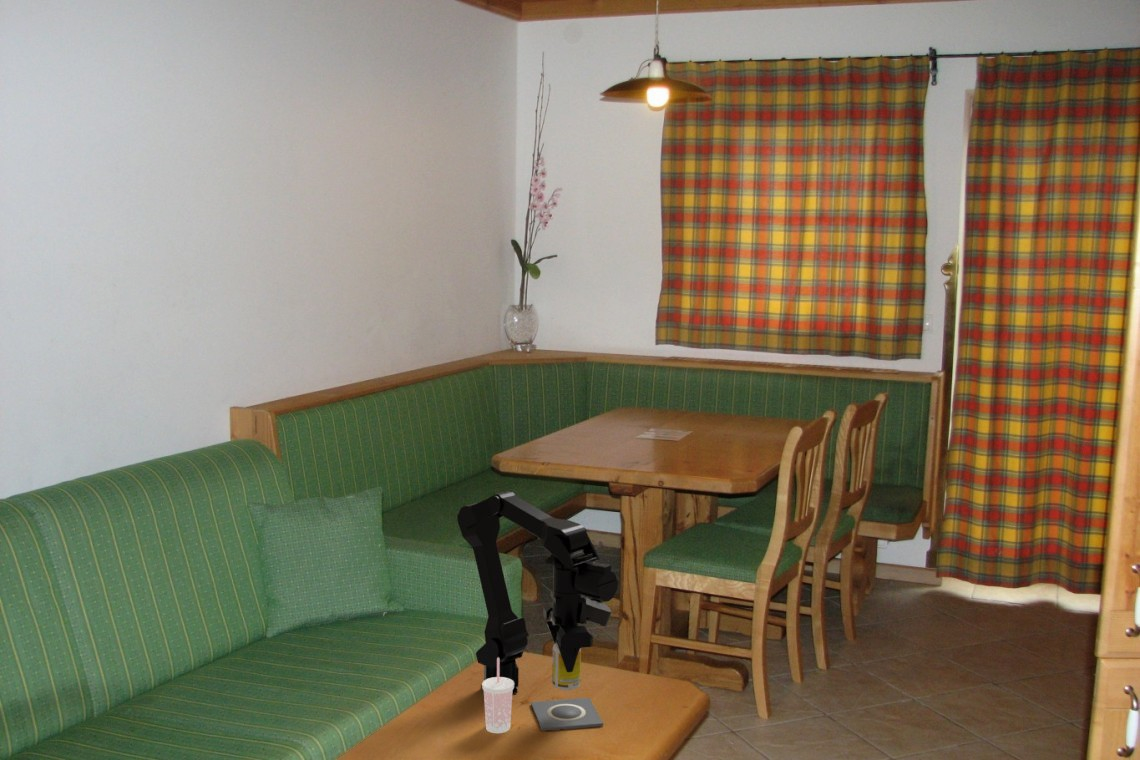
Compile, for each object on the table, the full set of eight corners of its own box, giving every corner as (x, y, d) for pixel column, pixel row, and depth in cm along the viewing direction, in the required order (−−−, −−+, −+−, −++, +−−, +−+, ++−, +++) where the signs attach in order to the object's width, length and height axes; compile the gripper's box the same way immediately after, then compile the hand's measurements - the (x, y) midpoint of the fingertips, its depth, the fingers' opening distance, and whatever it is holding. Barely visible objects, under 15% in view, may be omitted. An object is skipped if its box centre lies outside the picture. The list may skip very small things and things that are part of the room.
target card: (541, 731, 210) (542, 727, 209) (531, 704, 221) (531, 701, 221) (603, 726, 212) (603, 722, 212) (589, 700, 224) (589, 697, 224)
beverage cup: (518, 723, 213) (519, 654, 211) (506, 737, 207) (507, 666, 205) (489, 718, 215) (489, 650, 213) (476, 732, 209) (476, 661, 207)
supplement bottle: (586, 686, 215) (587, 636, 214) (564, 693, 212) (565, 643, 211) (568, 677, 220) (569, 628, 218) (546, 684, 216) (547, 634, 215)
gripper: (620, 602, 206) (618, 682, 208) (597, 572, 224) (595, 645, 226) (561, 606, 203) (560, 686, 206) (543, 575, 222) (542, 649, 224)
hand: (566, 666), depth 215 cm, fingers closed on supplement bottle, 5 cm apart
